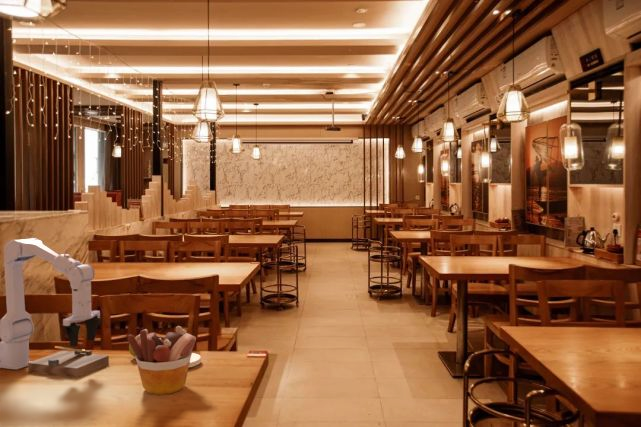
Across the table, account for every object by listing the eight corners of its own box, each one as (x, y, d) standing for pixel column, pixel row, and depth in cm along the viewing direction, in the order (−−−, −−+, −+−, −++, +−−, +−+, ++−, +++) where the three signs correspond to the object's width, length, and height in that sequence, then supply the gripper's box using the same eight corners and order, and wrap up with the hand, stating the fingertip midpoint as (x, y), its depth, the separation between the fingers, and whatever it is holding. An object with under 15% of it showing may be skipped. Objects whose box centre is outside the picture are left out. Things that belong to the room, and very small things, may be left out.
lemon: (140, 360, 196) (140, 338, 196) (126, 360, 198) (125, 337, 197) (148, 356, 202) (147, 334, 202) (134, 355, 203) (134, 333, 203)
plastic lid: (186, 357, 202) (186, 350, 202) (209, 365, 192) (208, 357, 192) (151, 365, 192) (151, 358, 192) (172, 374, 182) (172, 367, 182)
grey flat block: (28, 371, 185) (28, 358, 185) (62, 359, 199) (62, 346, 199) (76, 377, 179) (76, 363, 178) (108, 364, 193) (108, 350, 193)
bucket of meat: (164, 376, 180) (163, 314, 179) (206, 383, 173) (205, 319, 172) (117, 396, 162) (116, 328, 161) (161, 405, 154) (160, 334, 154)
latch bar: (54, 348, 185) (55, 345, 185) (80, 352, 196) (80, 350, 196) (61, 349, 184) (62, 346, 184) (87, 353, 195) (87, 350, 195)
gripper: (75, 306, 174) (76, 349, 174) (107, 298, 188) (107, 338, 188) (57, 305, 176) (58, 347, 177) (90, 297, 190) (90, 336, 190)
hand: (82, 343), depth 182 cm, fingers open, 7 cm apart
